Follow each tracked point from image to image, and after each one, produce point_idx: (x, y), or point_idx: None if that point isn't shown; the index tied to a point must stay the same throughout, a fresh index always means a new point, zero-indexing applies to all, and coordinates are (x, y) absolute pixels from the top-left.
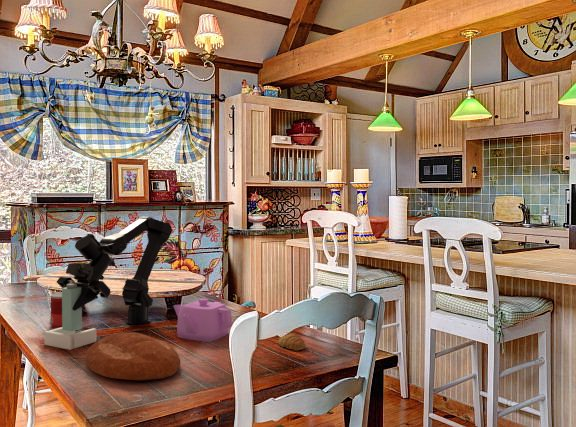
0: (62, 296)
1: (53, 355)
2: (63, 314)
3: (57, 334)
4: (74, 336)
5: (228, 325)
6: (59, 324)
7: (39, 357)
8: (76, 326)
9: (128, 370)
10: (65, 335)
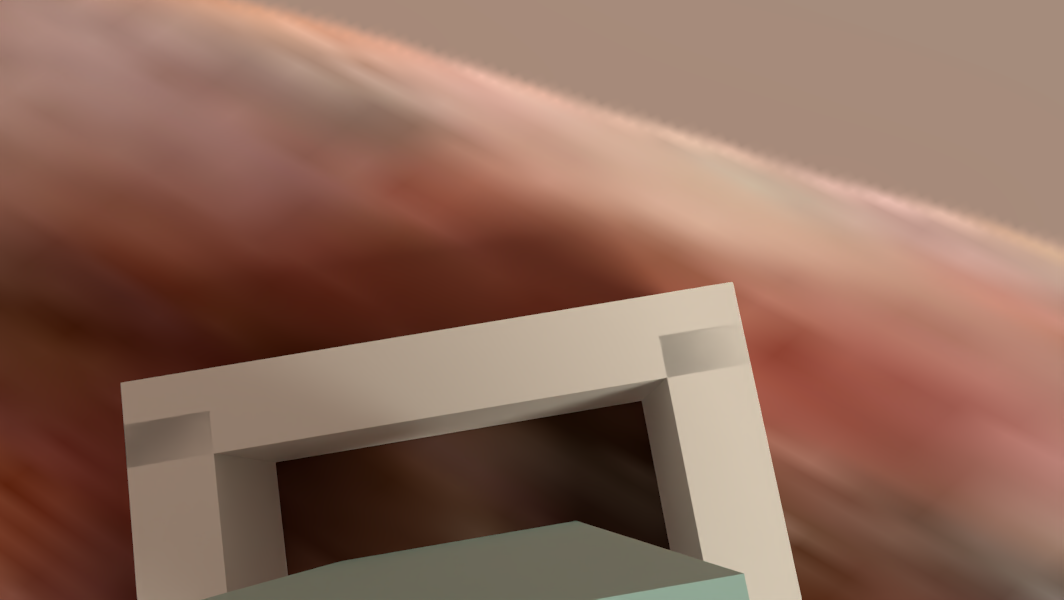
0: (618, 549)
1: (163, 150)
2: (546, 533)
3: (420, 335)
4: (136, 480)
5: None
6: None
7: (229, 13)
8: None
9: None
10: (234, 371)
